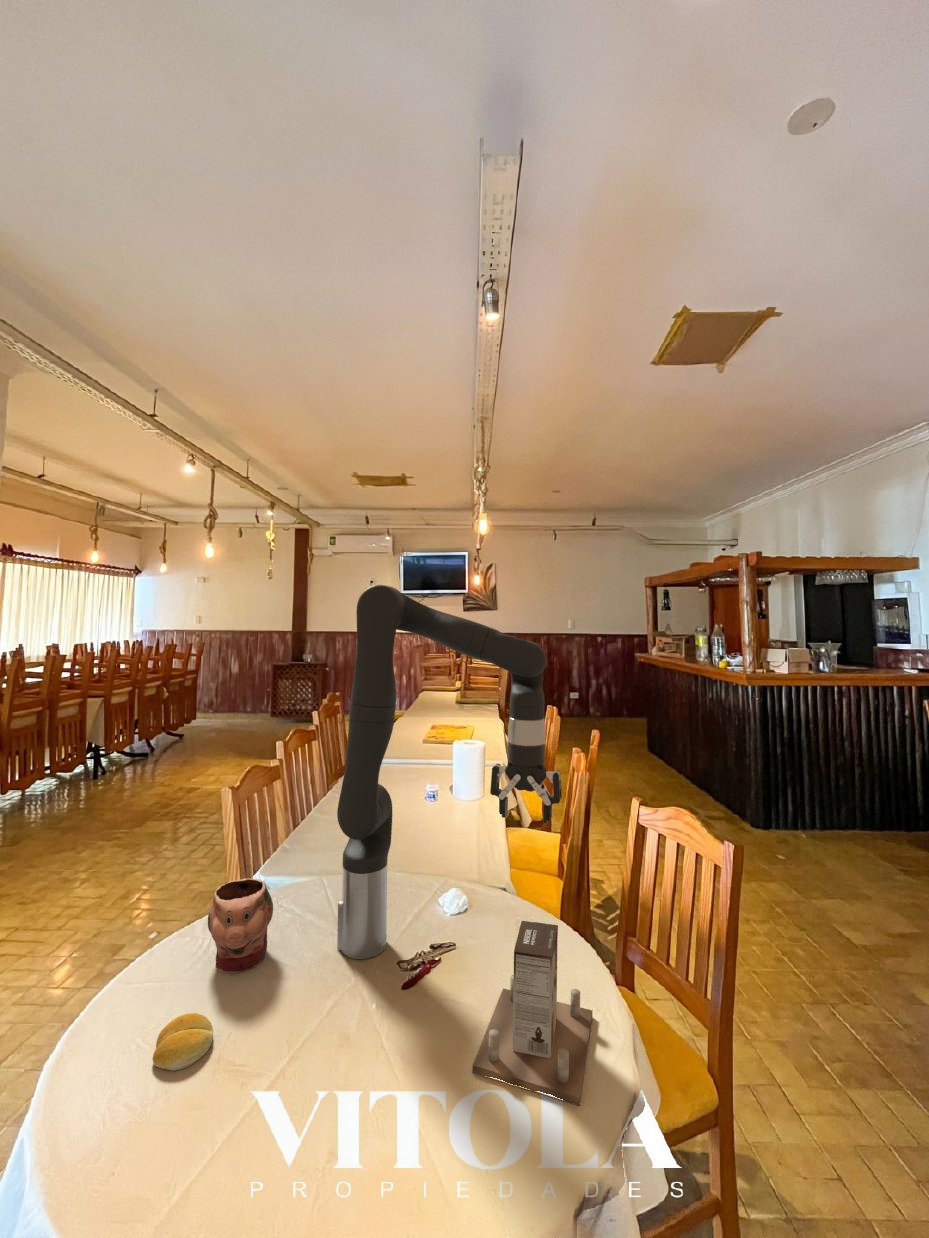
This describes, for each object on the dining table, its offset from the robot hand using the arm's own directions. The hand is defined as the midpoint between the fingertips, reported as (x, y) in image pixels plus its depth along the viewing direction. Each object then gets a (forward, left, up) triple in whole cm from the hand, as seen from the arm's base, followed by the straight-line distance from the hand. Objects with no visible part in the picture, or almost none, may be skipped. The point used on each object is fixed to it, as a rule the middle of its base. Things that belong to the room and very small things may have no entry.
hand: (525, 819), depth 110 cm
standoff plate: (+7, -21, -28) cm, 36 cm away
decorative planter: (-54, -19, -28) cm, 64 cm away
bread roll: (-46, -41, -29) cm, 68 cm away
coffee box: (+7, -21, -27) cm, 35 cm away
